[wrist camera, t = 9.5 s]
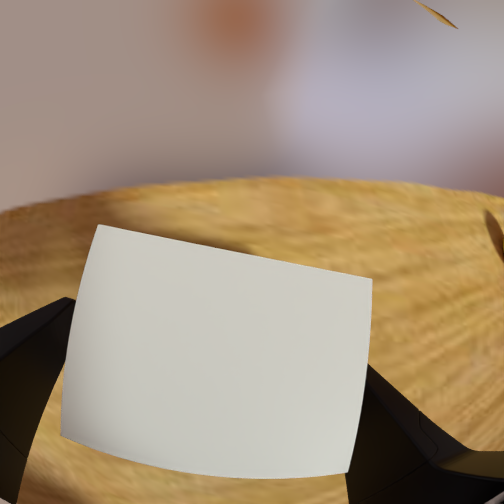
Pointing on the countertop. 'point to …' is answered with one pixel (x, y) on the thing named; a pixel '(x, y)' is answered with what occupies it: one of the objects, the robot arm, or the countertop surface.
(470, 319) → the countertop surface
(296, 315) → the rail post
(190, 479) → the countertop surface
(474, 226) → the countertop surface
